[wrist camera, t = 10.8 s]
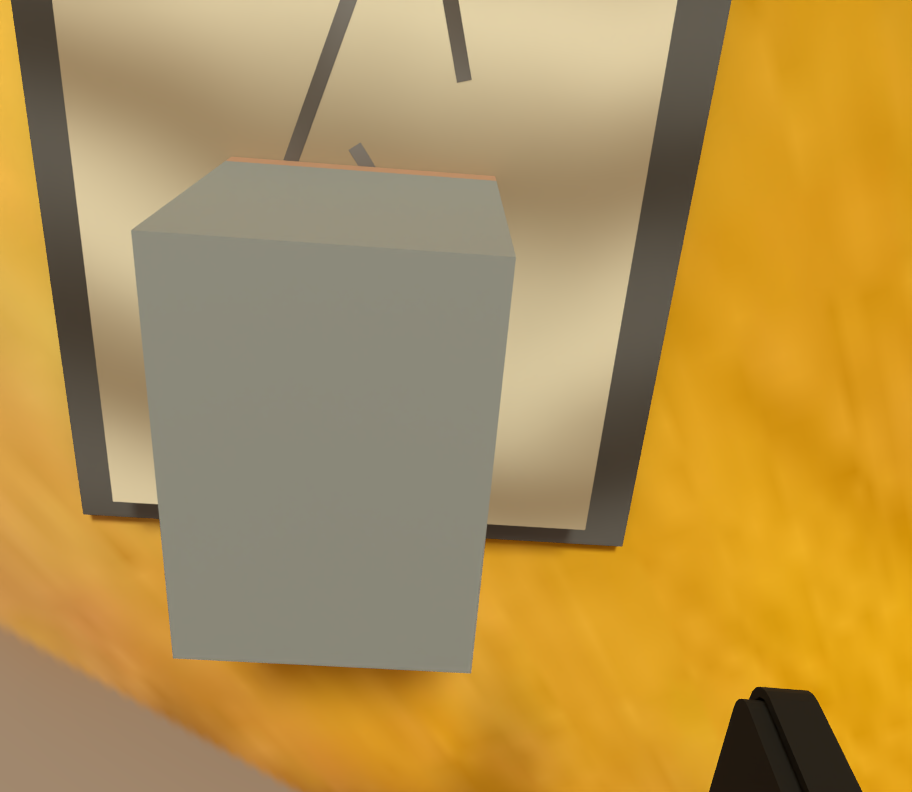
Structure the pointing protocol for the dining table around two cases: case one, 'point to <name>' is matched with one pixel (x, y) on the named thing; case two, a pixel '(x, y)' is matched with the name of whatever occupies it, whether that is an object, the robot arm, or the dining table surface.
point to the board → (399, 147)
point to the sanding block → (325, 409)
